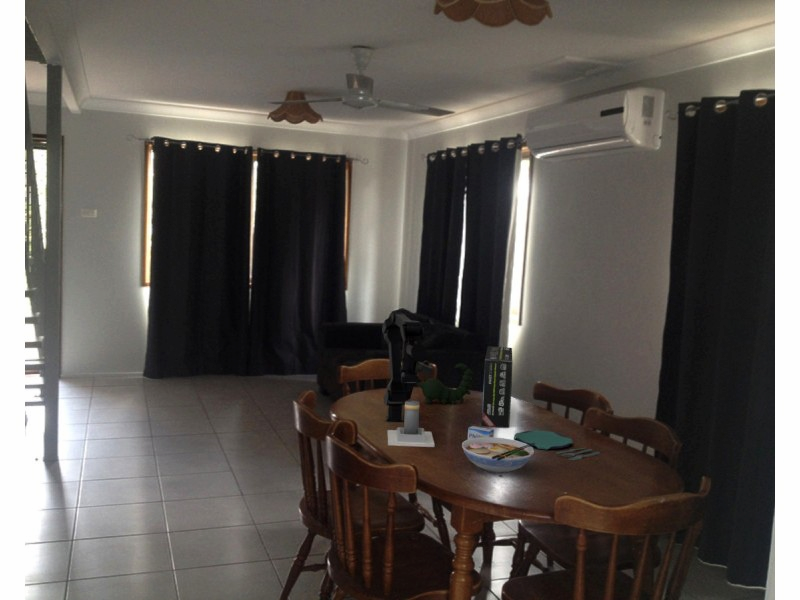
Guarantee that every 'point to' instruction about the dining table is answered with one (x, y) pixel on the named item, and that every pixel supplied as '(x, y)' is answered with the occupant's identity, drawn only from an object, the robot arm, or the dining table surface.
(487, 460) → the ramen bowl
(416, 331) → the robot arm
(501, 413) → the router box
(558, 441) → the cutlery set
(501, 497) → the dining table surface
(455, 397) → the toy figurine
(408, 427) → the grey can
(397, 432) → the socket plate
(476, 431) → the medicine box
